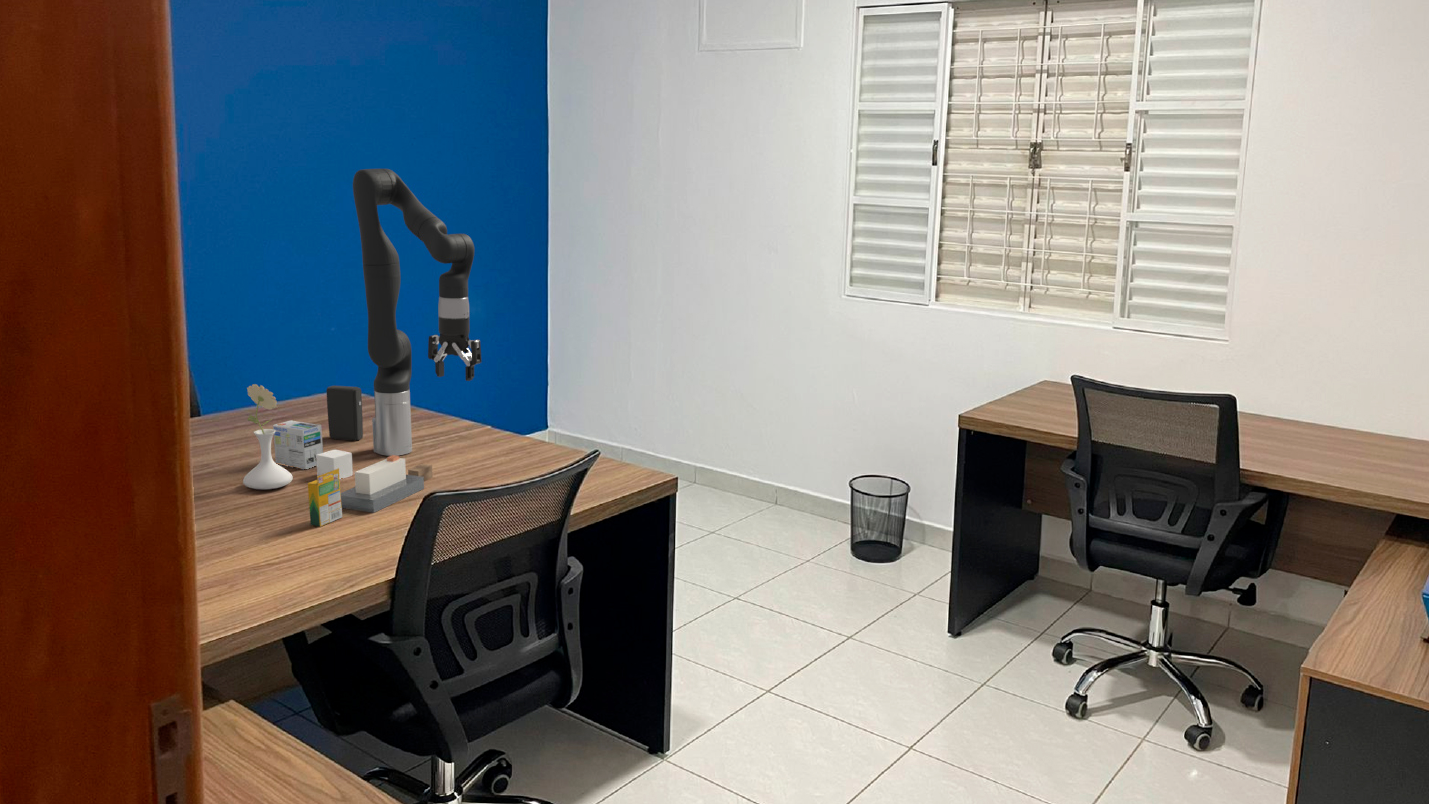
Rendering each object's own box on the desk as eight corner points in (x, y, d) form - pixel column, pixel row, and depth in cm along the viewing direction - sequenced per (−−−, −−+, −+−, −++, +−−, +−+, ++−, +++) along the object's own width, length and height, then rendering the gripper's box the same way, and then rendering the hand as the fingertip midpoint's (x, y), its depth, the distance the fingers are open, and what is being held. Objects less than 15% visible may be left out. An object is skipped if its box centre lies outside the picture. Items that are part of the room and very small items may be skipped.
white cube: (334, 481, 284) (333, 458, 283) (317, 477, 287) (316, 454, 286) (353, 475, 290) (351, 452, 288) (335, 471, 292) (334, 449, 291)
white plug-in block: (370, 506, 265) (369, 470, 263) (356, 504, 267) (354, 468, 265) (406, 489, 278) (405, 455, 276) (392, 487, 279) (391, 453, 278)
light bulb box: (324, 464, 299) (322, 424, 296) (305, 470, 293) (303, 429, 290) (293, 458, 303) (291, 419, 301) (274, 464, 297) (271, 424, 295)
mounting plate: (373, 512, 262) (373, 500, 261) (337, 507, 265) (336, 494, 264) (424, 488, 280) (423, 476, 279) (389, 483, 283) (388, 472, 282)
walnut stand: (418, 483, 284) (418, 471, 283) (408, 482, 285) (407, 469, 284) (432, 477, 289) (432, 465, 289) (422, 475, 290) (421, 463, 290)
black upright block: (365, 438, 324) (363, 386, 321) (358, 441, 321) (356, 389, 317) (335, 436, 326) (332, 384, 323) (328, 439, 322) (325, 387, 319)
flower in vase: (301, 487, 279) (295, 386, 274) (255, 496, 271) (248, 393, 266) (277, 475, 288) (270, 377, 282) (232, 484, 280) (224, 384, 275)
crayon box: (332, 515, 259) (329, 466, 256) (342, 517, 258) (340, 468, 255) (309, 525, 252) (306, 474, 250) (320, 527, 251) (317, 476, 249)
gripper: (420, 314, 285) (422, 378, 288) (469, 319, 280) (470, 384, 283) (438, 310, 291) (439, 372, 295) (486, 315, 286) (487, 378, 290)
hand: (454, 378), depth 289 cm, fingers open, 8 cm apart
